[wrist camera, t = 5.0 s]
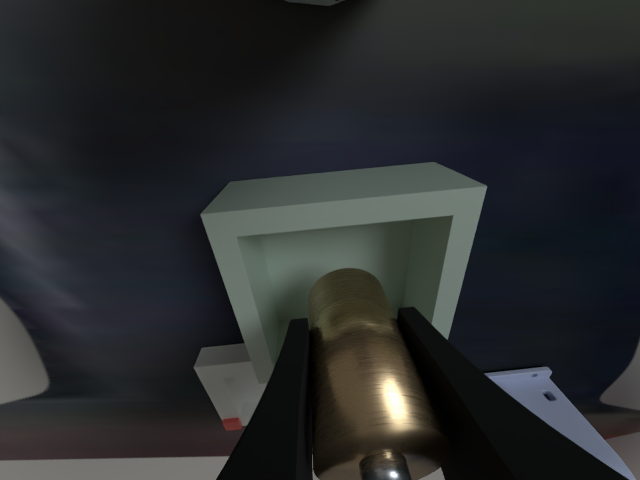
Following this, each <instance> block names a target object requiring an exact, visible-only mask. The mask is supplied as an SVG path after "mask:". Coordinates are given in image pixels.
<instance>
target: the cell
mask: <svg viewBox="0 0 640 480" xmlns="http://www.w3.org/2000/svg"><path fill="white" fill-rule="evenodd" d="M308 304H309V331H310V372H311V407H312V441H313V470H314V473H315V475H316V476H317V477H318V478H319V479H320V480H418V479H420V478H422V477H424V476H427V475H429V474H431V473H432V472H434V471H436V470H437V469H439V468H440V467H441V466H442V465H443V464H444V463H445V462H446V461H447V460H448V458H449V457H450V454H451V445H450V443H449V440H448V438H447V436H446V433H445V431H444V429H443V426H442V424H441V422H440V419H439V417H438V415H437V412H436V410H435V408H434V406H433V403H432V401H431V399H430V396H429V394H428V392H427V389H426V387H425V385H424V382H423V380H422V378H421V375H420V373H419V371H418V368H417V366H416V364H415V361H414V359H413V357H412V355H411V352H410V350H409V348H408V345H407V343H406V341H405V338H404V336H403V334H402V331H401V329H400V327H399V324H398V322H397V320H396V317H395V315H394V313H393V310H392V308H391V306H390V304H389V301H388V299H387V297H386V294H385V292H384V290H383V287H382V285H381V283H380V281H379V280H378V279H377V278H376V277H375V276H374V275H373V274H371V273H369V272H367V271H365V270H362V269H357V268H343V269H338V270H334V271H331V272H329V273H327V274H325V275H324V276H322V277H321V278H320V279H318V280H317V281H316V282H315V284H314V285H313V286H312V288H311V290H310V293H309V297H308Z"/></svg>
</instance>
